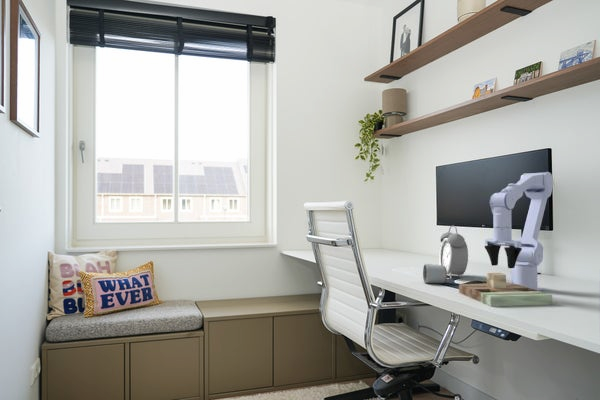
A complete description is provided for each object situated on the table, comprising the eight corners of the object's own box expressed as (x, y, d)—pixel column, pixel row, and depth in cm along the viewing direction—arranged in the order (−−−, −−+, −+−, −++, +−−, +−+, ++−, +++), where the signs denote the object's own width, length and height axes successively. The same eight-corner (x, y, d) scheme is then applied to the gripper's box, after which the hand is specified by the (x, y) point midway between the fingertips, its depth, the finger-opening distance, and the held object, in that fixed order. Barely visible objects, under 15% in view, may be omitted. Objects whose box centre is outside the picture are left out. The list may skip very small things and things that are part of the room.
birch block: (486, 285, 160) (486, 272, 160) (499, 285, 160) (499, 272, 160) (493, 288, 155) (493, 274, 155) (506, 288, 156) (506, 274, 156)
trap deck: (459, 292, 163) (459, 284, 164) (512, 291, 165) (512, 282, 165) (490, 306, 142) (490, 296, 142) (552, 304, 144) (552, 294, 144)
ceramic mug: (448, 284, 179) (447, 264, 180) (426, 284, 180) (426, 264, 180) (440, 280, 190) (440, 262, 190) (420, 280, 190) (420, 261, 190)
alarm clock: (437, 274, 207) (437, 224, 207) (456, 273, 207) (456, 224, 207) (449, 280, 190) (448, 226, 191) (470, 279, 190) (470, 226, 191)
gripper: (478, 226, 165) (478, 264, 165) (509, 228, 152) (509, 270, 152) (493, 226, 168) (494, 263, 168) (526, 228, 154) (526, 269, 154)
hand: (502, 266), depth 160 cm, fingers open, 7 cm apart
